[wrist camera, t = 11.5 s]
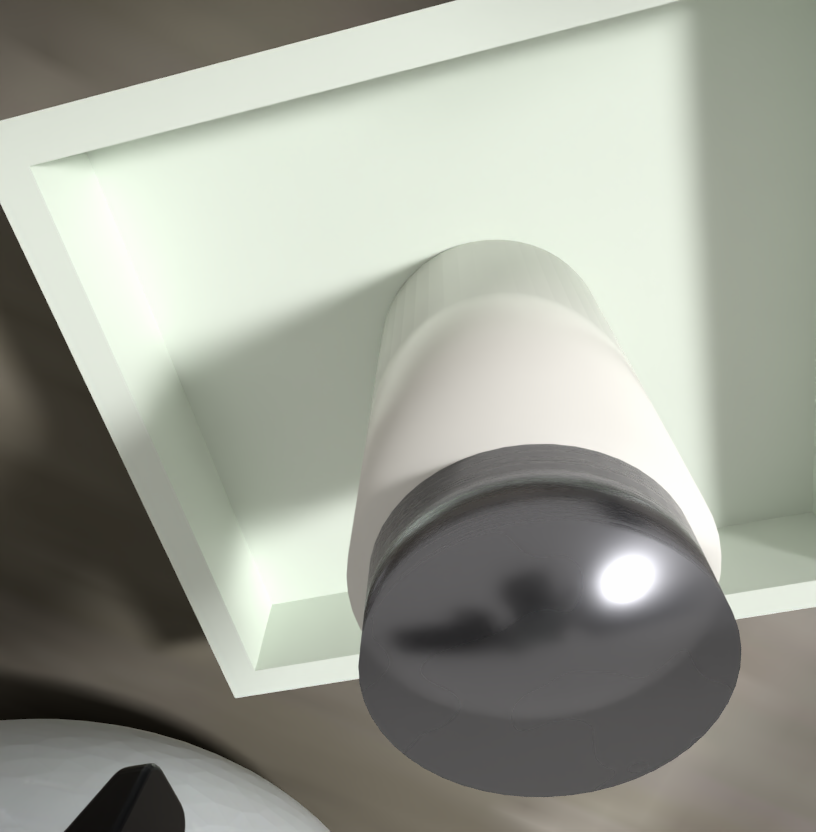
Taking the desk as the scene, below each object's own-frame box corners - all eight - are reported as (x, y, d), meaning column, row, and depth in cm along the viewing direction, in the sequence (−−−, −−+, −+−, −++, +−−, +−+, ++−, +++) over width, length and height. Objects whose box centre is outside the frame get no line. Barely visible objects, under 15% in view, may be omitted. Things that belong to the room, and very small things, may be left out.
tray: (852, -104, 14) (955, -132, 11) (833, 517, 20) (895, 594, 17) (43, 110, 16) (-35, 129, 13) (257, 615, 22) (235, 698, 19)
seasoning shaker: (589, 216, 16) (767, 459, 7) (612, 422, 18) (769, 787, 10) (357, 266, 16) (277, 541, 8) (408, 458, 19) (388, 830, 10)
